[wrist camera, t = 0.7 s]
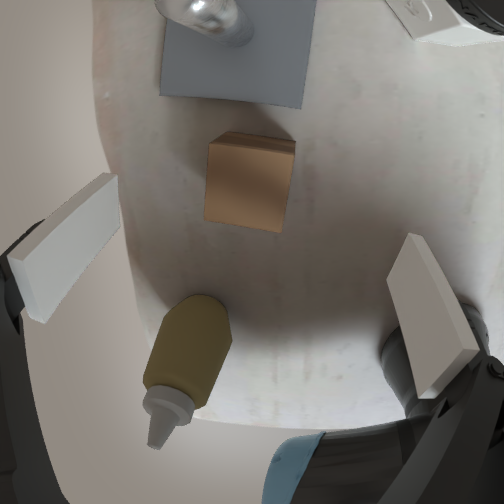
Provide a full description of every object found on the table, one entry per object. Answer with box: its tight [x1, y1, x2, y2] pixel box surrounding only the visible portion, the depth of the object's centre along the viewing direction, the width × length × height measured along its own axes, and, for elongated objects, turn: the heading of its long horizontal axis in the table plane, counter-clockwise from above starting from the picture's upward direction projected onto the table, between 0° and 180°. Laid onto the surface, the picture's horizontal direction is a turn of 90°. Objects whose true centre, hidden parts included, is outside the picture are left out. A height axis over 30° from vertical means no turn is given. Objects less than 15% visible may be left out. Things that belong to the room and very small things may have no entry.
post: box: [155, 0, 254, 48], centre depth 15 cm, size 3×3×12 cm
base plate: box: [159, 0, 316, 109], centre depth 21 cm, size 12×12×2 cm
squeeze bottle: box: [143, 295, 232, 450], centre depth 29 cm, size 8×8×18 cm
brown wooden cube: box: [204, 132, 296, 233], centre depth 25 cm, size 6×6×6 cm
